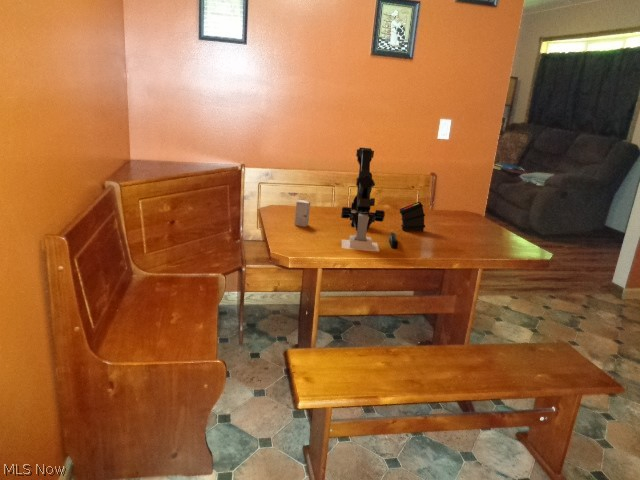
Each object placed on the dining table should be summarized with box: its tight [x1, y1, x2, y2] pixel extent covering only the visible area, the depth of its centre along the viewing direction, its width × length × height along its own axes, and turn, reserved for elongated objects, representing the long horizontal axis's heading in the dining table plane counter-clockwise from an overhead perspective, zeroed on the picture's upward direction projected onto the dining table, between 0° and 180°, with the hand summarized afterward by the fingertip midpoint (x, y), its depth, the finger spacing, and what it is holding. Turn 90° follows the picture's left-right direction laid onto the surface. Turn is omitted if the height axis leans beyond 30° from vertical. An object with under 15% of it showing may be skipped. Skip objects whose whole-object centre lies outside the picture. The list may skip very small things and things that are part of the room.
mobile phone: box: [388, 232, 399, 250], centre depth 210 cm, size 5×3×15 cm
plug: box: [355, 213, 369, 241], centre depth 201 cm, size 4×4×13 cm
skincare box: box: [294, 199, 311, 228], centre depth 227 cm, size 6×4×12 cm
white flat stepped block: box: [341, 234, 380, 252], centre depth 203 cm, size 16×12×4 cm
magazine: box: [399, 201, 426, 233], centre depth 234 cm, size 4×13×15 cm, turn 95°
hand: (361, 231), depth 200 cm, fingers closed on plug, 4 cm apart
